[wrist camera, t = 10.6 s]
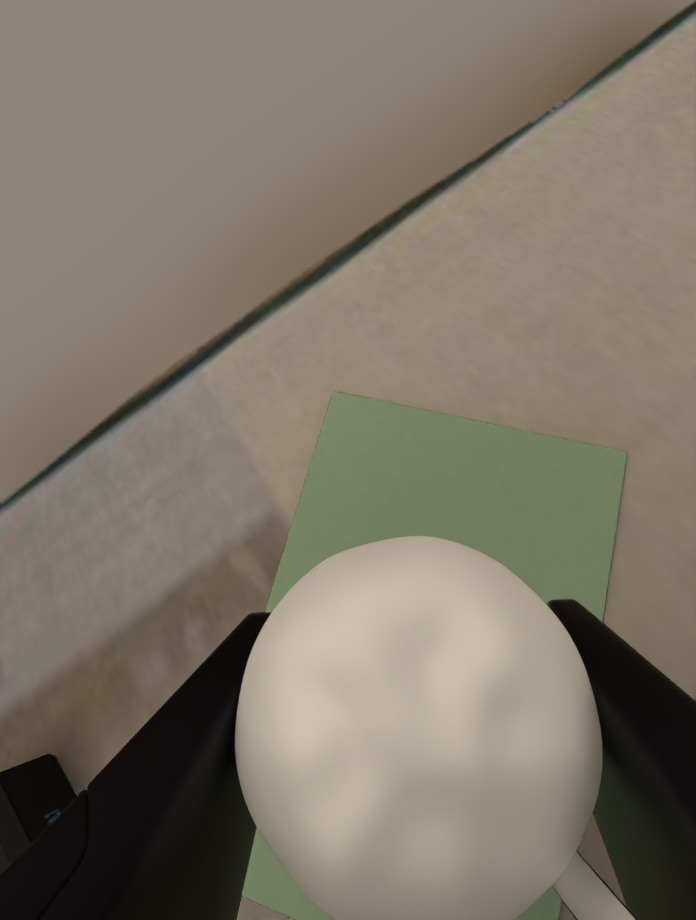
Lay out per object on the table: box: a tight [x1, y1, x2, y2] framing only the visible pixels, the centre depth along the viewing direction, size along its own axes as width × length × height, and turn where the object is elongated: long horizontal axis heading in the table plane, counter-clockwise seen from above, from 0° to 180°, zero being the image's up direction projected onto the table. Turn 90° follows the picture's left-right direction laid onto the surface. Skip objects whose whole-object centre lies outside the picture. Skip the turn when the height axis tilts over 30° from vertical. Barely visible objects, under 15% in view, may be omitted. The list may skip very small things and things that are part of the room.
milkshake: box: [235, 536, 637, 920], centre depth 9 cm, size 4×5×10 cm
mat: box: [242, 391, 627, 920], centre depth 20 cm, size 20×13×1 cm, turn 164°
